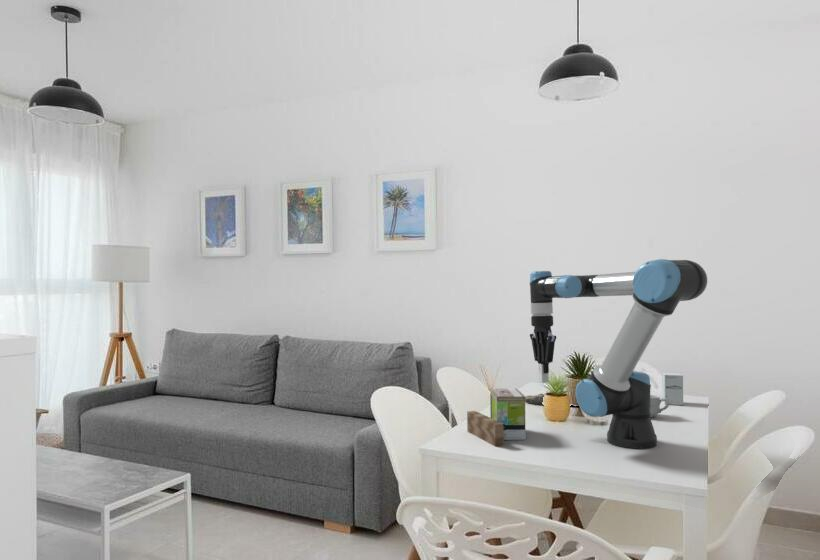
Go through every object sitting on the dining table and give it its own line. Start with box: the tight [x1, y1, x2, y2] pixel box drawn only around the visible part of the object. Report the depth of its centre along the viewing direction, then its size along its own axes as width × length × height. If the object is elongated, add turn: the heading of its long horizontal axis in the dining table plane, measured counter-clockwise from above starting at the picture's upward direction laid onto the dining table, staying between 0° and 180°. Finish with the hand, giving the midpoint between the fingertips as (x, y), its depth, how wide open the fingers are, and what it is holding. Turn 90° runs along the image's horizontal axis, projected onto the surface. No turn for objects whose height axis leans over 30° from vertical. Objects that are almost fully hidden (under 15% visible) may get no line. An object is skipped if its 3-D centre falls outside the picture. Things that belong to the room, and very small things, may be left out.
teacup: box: [650, 394, 670, 418], centre depth 217 cm, size 14×11×8 cm
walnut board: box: [466, 410, 505, 447], centre depth 192 cm, size 20×3×7 cm, turn 21°
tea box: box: [489, 388, 526, 441], centre depth 196 cm, size 15×10×15 cm
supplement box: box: [661, 371, 684, 406], centre depth 240 cm, size 7×7×13 cm
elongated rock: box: [524, 393, 546, 406], centre depth 240 cm, size 35×5×10 cm
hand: (544, 382), depth 199 cm, fingers closed
